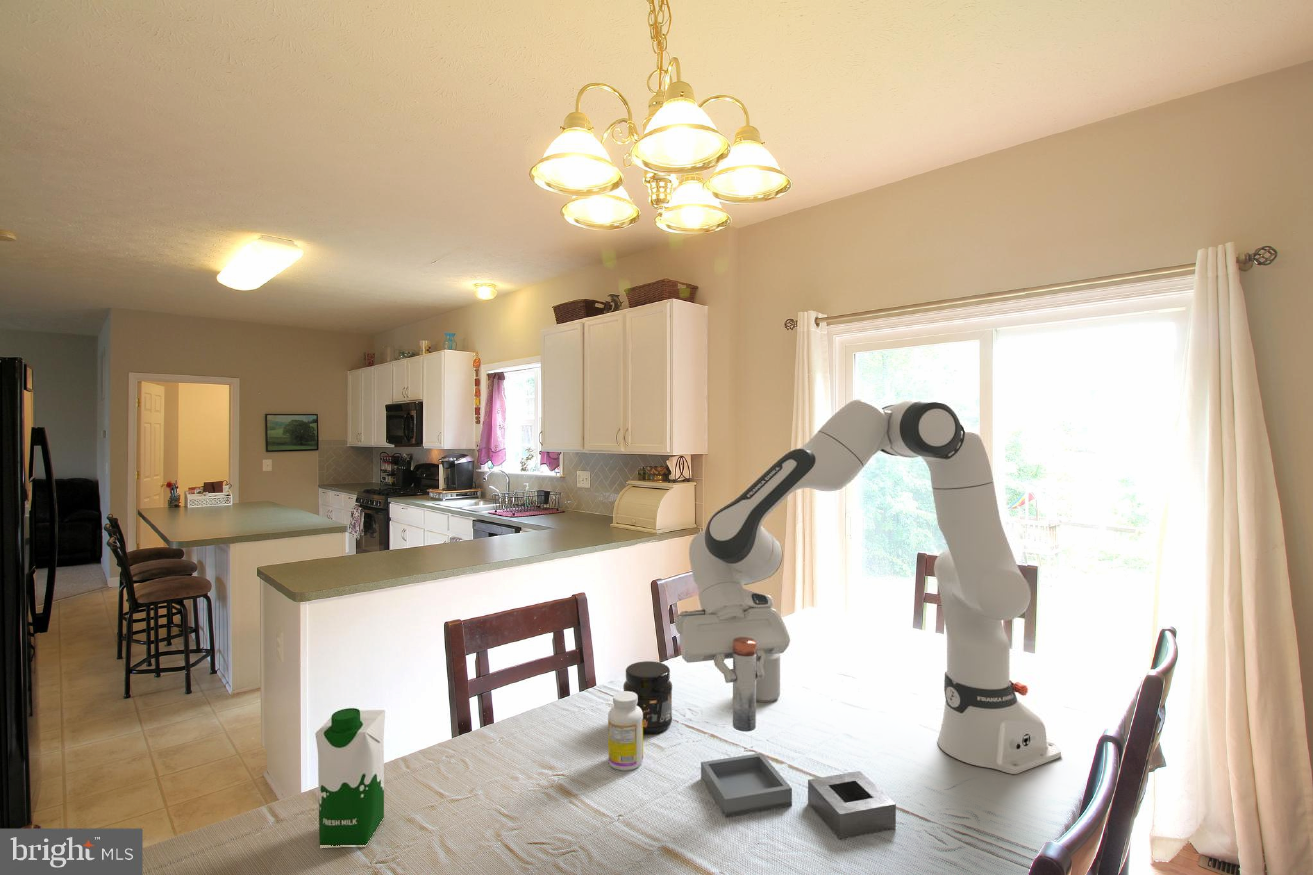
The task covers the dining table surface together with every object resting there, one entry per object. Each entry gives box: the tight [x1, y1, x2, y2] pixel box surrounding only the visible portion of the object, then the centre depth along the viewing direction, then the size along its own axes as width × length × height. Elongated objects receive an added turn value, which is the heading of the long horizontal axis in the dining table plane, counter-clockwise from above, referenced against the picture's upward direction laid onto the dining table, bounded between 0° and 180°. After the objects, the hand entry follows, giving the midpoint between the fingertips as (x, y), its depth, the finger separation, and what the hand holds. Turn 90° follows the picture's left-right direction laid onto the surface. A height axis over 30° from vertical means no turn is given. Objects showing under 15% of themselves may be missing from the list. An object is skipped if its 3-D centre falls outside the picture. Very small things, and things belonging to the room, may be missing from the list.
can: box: [756, 653, 781, 703], centre depth 150 cm, size 8×8×12 cm
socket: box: [807, 770, 897, 841], centre depth 104 cm, size 10×10×4 cm
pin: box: [732, 637, 757, 733], centre depth 111 cm, size 4×4×15 cm
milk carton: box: [314, 707, 386, 846], centre depth 100 cm, size 9×9×20 cm
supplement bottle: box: [607, 690, 644, 771], centre depth 121 cm, size 7×7×13 cm
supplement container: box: [622, 660, 673, 735], centre depth 136 cm, size 10×10×12 cm
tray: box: [700, 752, 793, 818], centre depth 111 cm, size 12×12×3 cm
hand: (745, 679), depth 110 cm, fingers closed on pin, 4 cm apart
